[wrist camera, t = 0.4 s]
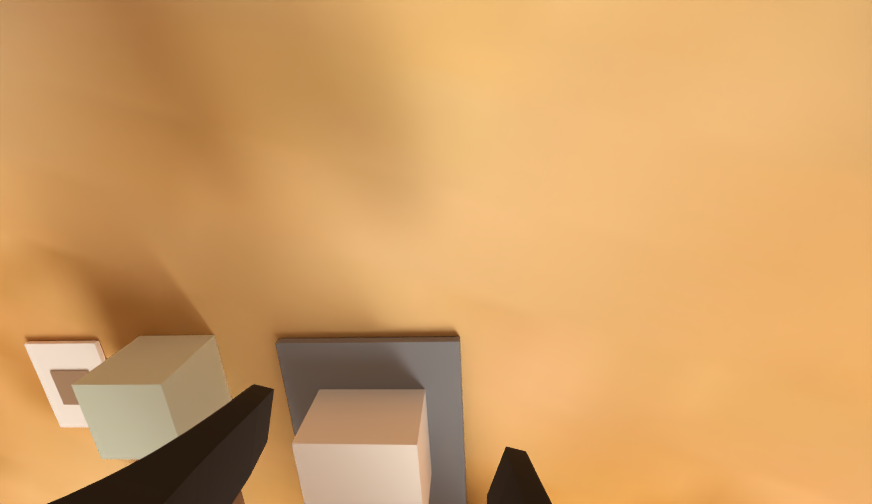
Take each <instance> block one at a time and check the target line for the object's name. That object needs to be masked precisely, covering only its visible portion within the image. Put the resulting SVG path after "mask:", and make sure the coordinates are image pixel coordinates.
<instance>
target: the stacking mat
mask: <svg viewBox="0 0 872 504" xmlns="http://www.w3.org/2000/svg"><path fill="white" fill-rule="evenodd" d="M276 348H277V353H278V358H279V362H280V367H281V372H282V377H283V381H284V386H285V391H286V396H287V401H288V405H289V410H290V415H291V420H292V424H293V429H294V434H295V436H296V434H297V432H298V430H299V428H300V426H301V424H302V422H303V420H304V418H305V416H306V414H307V413H308V411H309V409H310V407H311V405H312V403H313V401H314V399H315V397H316V395H317V393H318V391H319V389H425V393H426V406H427V419H428V432H429V445H430V458H431V471H432V474H431V484H430V494H429V504H467V500H466V475H465V451H464V427H463V403H462V379H461V355H460V337H378V338H285V339H279V340H278V341H277V342H276Z"/></svg>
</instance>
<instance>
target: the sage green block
mask: <svg viewBox="0 0 872 504" xmlns="http://www.w3.org/2000/svg"><path fill="white" fill-rule="evenodd" d="M71 386H72V388H73V391H74V393H75V396H76V398H77V400H78V403H79V405H80V408H81V410H82V413H83V415H84V417H85V420H86V422H87V425H88V427H89V430H90V432H91V434H92V437H93V439H94V442H95V444H96V446H97V449H98V451H99V454H100V456H101V459H141V458H143V457H145V456H147V455H148V454H150V453H152V452H154V451H155V450H157V449H159V448H160V447H162V446H164V445H165V444H167V443H168V442H170V441H172V440H173V439H175V438H177V437H178V436H180V435H181V434H183V433H185V432H186V431H188V430H189V429H191V428H192V427H194V426H195V425H197V424H198V423H200V422H201V421H203V420H204V419H206V418H207V417H209V416H210V415H211V414H213V413H214V412H216V411H217V410H219V409H220V408H221V407H223V406H224V405H226V404H227V403H228V402H230V401H231V400H232V399H231V395H230V391H229V388H228V384H227V380H226V376H225V373H224V369H223V365H222V361H221V357H220V354H219V350H218V346H217V342H216V339H215V335H165V336H139V337H137V338H136V339H134V340H133V341H132V342H130V343H129V344H127V345H126V346H125V347H123V348H122V349H120V350H119V351H118V352H116V353H115V354H113V355H112V356H111V357H109V358H108V359H107V360H105V361H104V362H102V363H101V364H100V365H98V366H97V367H95V368H94V369H93V370H91V371H90V372H88V373H87V374H86V375H84V376H83V377H81V378H80V379H79V380H77V381H76V382H74V383H73V384H72V385H71Z"/></svg>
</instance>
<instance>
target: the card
mask: <svg viewBox="0 0 872 504" xmlns="http://www.w3.org/2000/svg"><path fill="white" fill-rule="evenodd" d="M24 345H25V347H26V350H27V352H28V354H29V356H30V359H31V361H32V363H33V365H34V368H35V370H36V372H37V375H38V377H39V379H40V381H41V384H42V386H43V388H44V390H45V393H46V395H47V397H48V400H49V402H50V404H51V406H52V409H53V411H54V413H55V415H56V418H57V420H58V422H59V425H60V427H88V425H87V422H86V420H85V417H84V415H83V413H82V410H81V408H80V405H79V403H78V400H77V398H76V396H75V393H74V391H73V388H72V386H71V385H72V384H73V383H74V382H76V381H77V380H79V379H80V378H81V377H83V376H84V375H86V374H87V373H88V372H90V371H91V370H93V369H94V368H95V367H97V366H98V365H100V364H101V363H102V362H104V361H105V360H106V359H105V356H104V353H103V350H102V348H101V345H100V342H99V341H29V342H27V343H25V344H24Z"/></svg>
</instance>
